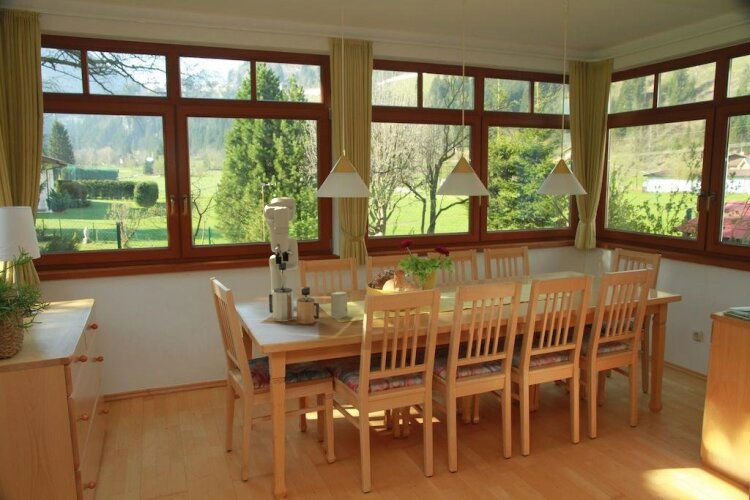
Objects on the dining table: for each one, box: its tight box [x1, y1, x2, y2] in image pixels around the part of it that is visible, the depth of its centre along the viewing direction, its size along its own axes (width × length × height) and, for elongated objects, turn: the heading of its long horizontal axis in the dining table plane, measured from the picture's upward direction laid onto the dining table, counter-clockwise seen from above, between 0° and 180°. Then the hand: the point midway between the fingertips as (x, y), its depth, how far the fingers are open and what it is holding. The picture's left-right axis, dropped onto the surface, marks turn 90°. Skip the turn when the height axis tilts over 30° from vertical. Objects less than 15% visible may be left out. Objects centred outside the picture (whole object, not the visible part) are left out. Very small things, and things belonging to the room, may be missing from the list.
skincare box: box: [330, 291, 348, 320], centre depth 317 cm, size 8×6×15 cm
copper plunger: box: [301, 286, 311, 300], centre depth 305 cm, size 6×6×15 cm
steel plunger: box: [278, 262, 287, 290], centre depth 309 cm, size 8×8×19 cm
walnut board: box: [260, 314, 325, 328], centre depth 310 cm, size 18×30×1 cm, turn 77°
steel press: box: [268, 287, 295, 322], centre depth 311 cm, size 11×13×17 cm
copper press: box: [296, 296, 320, 324], centre depth 306 cm, size 10×12×13 cm
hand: (282, 262), depth 307 cm, fingers open, 9 cm apart
